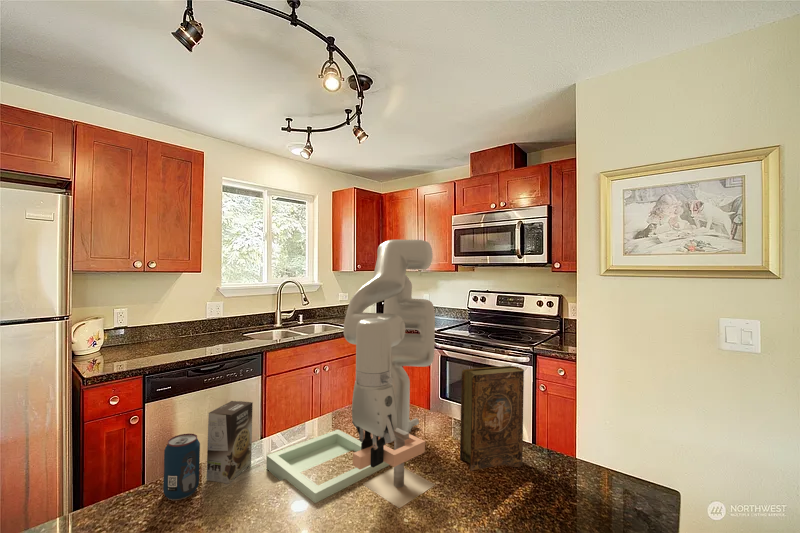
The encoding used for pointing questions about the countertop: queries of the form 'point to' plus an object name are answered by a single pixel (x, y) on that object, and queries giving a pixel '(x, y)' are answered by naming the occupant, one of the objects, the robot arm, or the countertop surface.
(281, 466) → the tray
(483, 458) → the book
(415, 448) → the pink flat frame
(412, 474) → the stake stand
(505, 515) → the countertop surface
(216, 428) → the coffee box
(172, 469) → the soda can
